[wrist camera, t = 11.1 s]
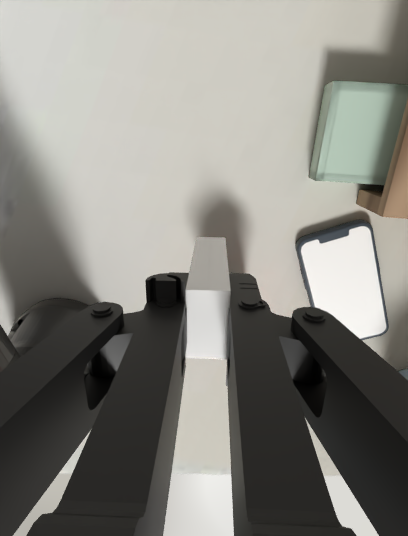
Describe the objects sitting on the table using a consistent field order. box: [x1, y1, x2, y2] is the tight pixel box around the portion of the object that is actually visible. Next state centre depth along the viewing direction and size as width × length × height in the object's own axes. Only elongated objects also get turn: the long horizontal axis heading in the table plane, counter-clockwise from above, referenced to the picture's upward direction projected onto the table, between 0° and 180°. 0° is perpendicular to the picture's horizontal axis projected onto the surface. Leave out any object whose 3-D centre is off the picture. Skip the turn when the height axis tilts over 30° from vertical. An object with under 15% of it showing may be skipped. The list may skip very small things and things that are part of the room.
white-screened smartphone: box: [296, 220, 389, 340], centre depth 40 cm, size 9×2×16 cm
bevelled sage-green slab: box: [309, 81, 408, 185], centre depth 32 cm, size 14×9×3 cm, turn 87°
